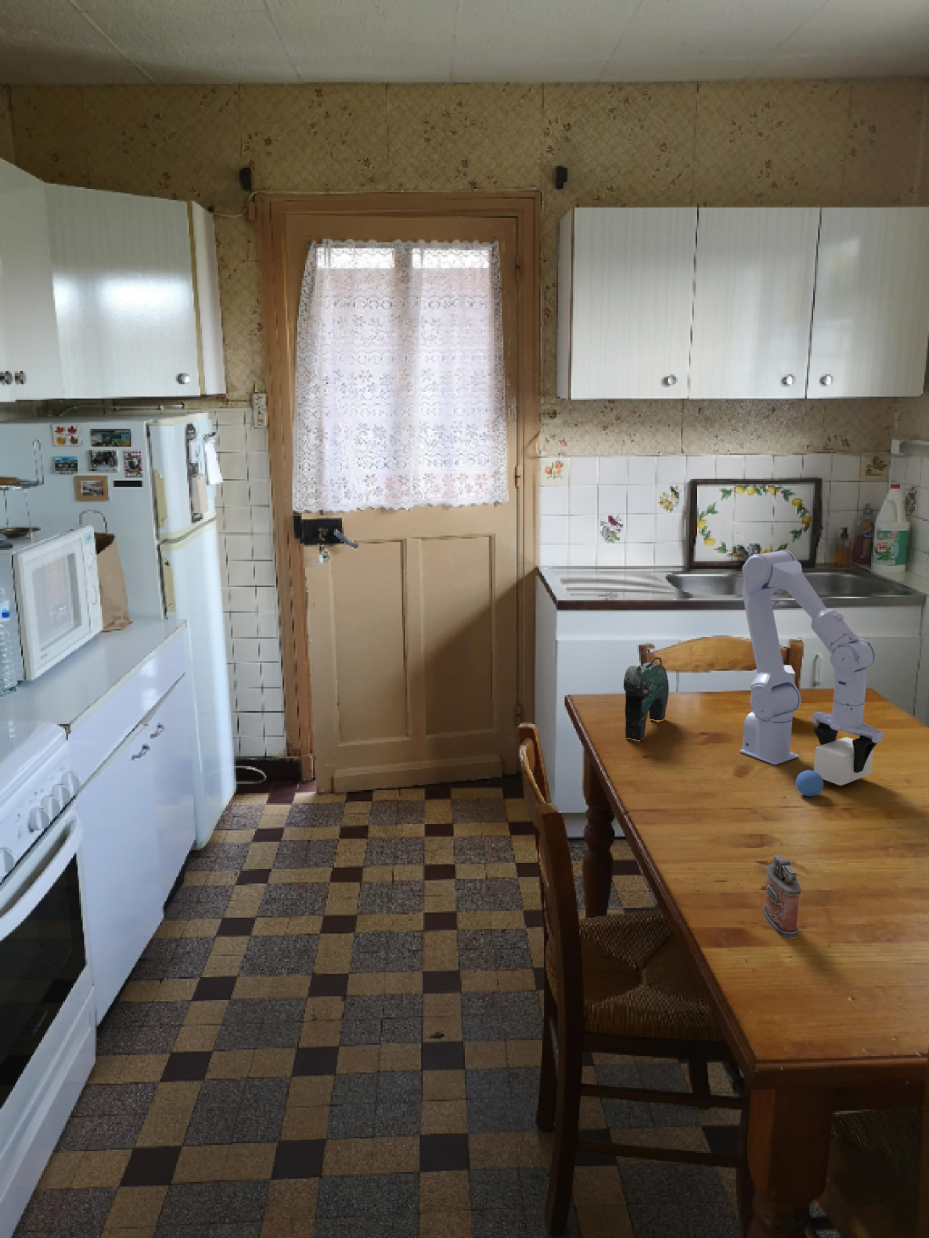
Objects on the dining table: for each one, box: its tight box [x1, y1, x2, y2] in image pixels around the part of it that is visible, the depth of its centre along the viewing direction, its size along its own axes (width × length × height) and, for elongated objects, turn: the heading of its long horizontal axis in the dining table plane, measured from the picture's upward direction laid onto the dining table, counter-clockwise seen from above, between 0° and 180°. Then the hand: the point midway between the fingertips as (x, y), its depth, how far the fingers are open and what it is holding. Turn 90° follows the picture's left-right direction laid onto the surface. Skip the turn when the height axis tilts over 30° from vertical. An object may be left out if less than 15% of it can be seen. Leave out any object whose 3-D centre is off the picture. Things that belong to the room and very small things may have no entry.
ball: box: [795, 769, 824, 797], centre depth 184 cm, size 5×5×5 cm
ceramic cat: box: [623, 648, 670, 741], centre depth 219 cm, size 20×6×20 cm, turn 148°
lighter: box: [762, 854, 802, 939], centre depth 139 cm, size 8×3×10 cm, turn 5°
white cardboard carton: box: [813, 736, 874, 787], centre depth 189 cm, size 10×6×6 cm, turn 124°
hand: (843, 765), depth 190 cm, fingers closed on white cardboard carton, 6 cm apart
